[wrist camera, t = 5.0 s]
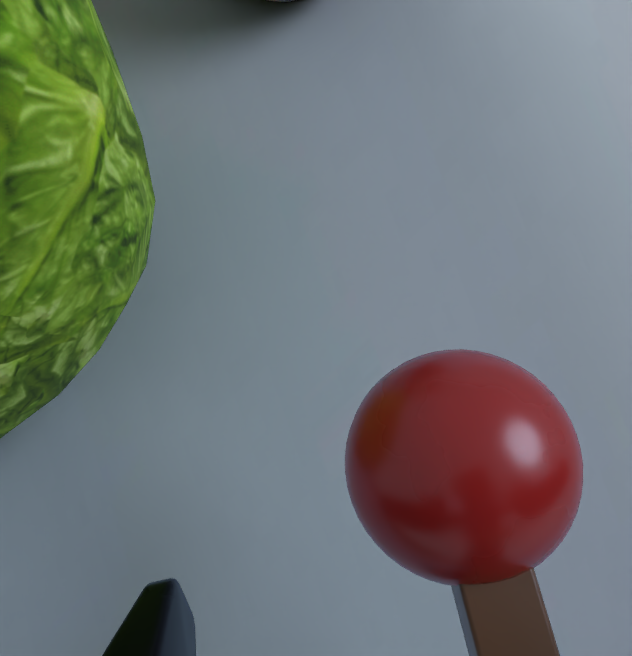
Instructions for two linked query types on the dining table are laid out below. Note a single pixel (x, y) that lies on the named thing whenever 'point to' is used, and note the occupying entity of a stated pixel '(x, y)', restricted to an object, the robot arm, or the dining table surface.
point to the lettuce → (63, 199)
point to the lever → (469, 487)
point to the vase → (280, 0)
